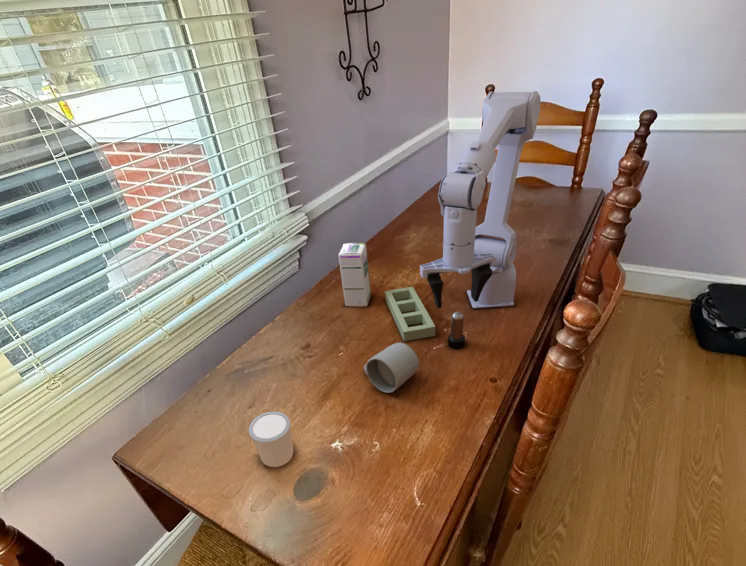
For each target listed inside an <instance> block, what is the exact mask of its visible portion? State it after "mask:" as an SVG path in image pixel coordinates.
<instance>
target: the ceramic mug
mask: <svg viewBox="0 0 746 566" xmlns="http://www.w3.org/2000/svg"><path fill="white" fill-rule="evenodd" d="M419 367H420V359H419V357H418V354H417V351H415V350H414V349H413V347H412V346H410V345H409V344H407V343H405V342H401V341H400V342H395V343H393V344H391V345H389V346H387V347H385V348H384V349H383V350H381V351H380V352H378V353H377V354H375V355H374V356H372V357H371V358H369V359H368V360H367V362H366V363H365V364H364V366H363V370H364V373H365V375H366V376H367V377H368V379H369V381H370V382H371V384H372V385H373V386H374V387H375V388H376V389H378V390H379V391H381V392H383V393H386V394H392V393H394V392H395V391H396V390H398V389H399V388H400V387H402V385H404V384H405V383H406V382H407V381H408V380H409V379H410V378H411V377H413V376H414V375H415V374H416V372H417V371H418V369H419Z"/></svg>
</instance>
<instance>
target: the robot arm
mask: <svg viewBox="0 0 746 566" xmlns="http://www.w3.org/2000/svg"><path fill="white" fill-rule="evenodd" d="M541 100H542V99H541V94H540V93H539V91H538V90H533V91H512V92H511V91H505V92H504V91H500V92H498V91H497V92H495V91H489V92H488V93H487V95H486V96H485V97H484V100H483V102H482V107H481V121H482V127H481V129H480V131H479V134H478V136H477V137H476V138H477V139H476V141H472V142H470V143H468V145H467V146H466V147H465V149H464V151H463V153H462V155H461V157H460V158H459V160H458V161H457V164H456V166H455V167H454V169H453V171H451V172H449V173H447V174H445V175H443V176H442V178H441V181H440V183H439V188H438V193H437V200H438V204H439V206H440V215H441V216H442V217H443V235H442V236H443V237H442V238H443V239H442V257H441V258H438V259H435V260H432V261H430V262H427V263H424V264H419V275H420V277H421V278H422V279H426V280H427V282H428V285H429V287H430V290H431V293H432V296H433V300H434V304H435V306H436V308H437V309H441V308H442V303H443V300H442V298H443V297H442V293H443V288H444V284H445V283H444V281H443V280H442V276H441V274H448V273H458V274H460V275H464V274H465V275H466V274H470V273H471V287H470V289H467V290H466V294H467V296H468V299H469V302H470V305H471V307H472V309H473V310H475V309H486V308H499V307H513V306H515V301H514V300H515V292H516V284H517V270H516V266H515V264H514V260H515V257H516V253H517V243H518V242H517V240H518V234H517V233H516V231H515V230H514V229H513V228H512V227H511V226H510V225H509V224H508V220H509V216H510V215H509V214H510V209H511V206H512V205H511V204H512V200H513V195H514V191H515V185H516V181H517V175H518V169H519V166H520V161H521V156H522V152H523V149H524V146H525V143H526V142H528V141H530V140H533V139H534V137H535V134H536V131H537V128H538V127H537V126H538V123H539V122H538V121H539V117H540V112H541V102H542V101H541ZM497 147H498V148H497ZM496 149H497V153H496V151H495V150H496ZM493 166H494V169H493V173H492V180H491V185H490V189H489V195H488V199H487V206H486V211H485V216H484V221H483V222H482V223H480V224H479V225H477V214H478V213H477V212H478V208H479V206H480V205H481V202H482V200H483V196H484V192H485V188H486V185H487V182H486V179H487V177H488V175H489V173H490V172H491V170H492V168H493Z"/></svg>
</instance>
